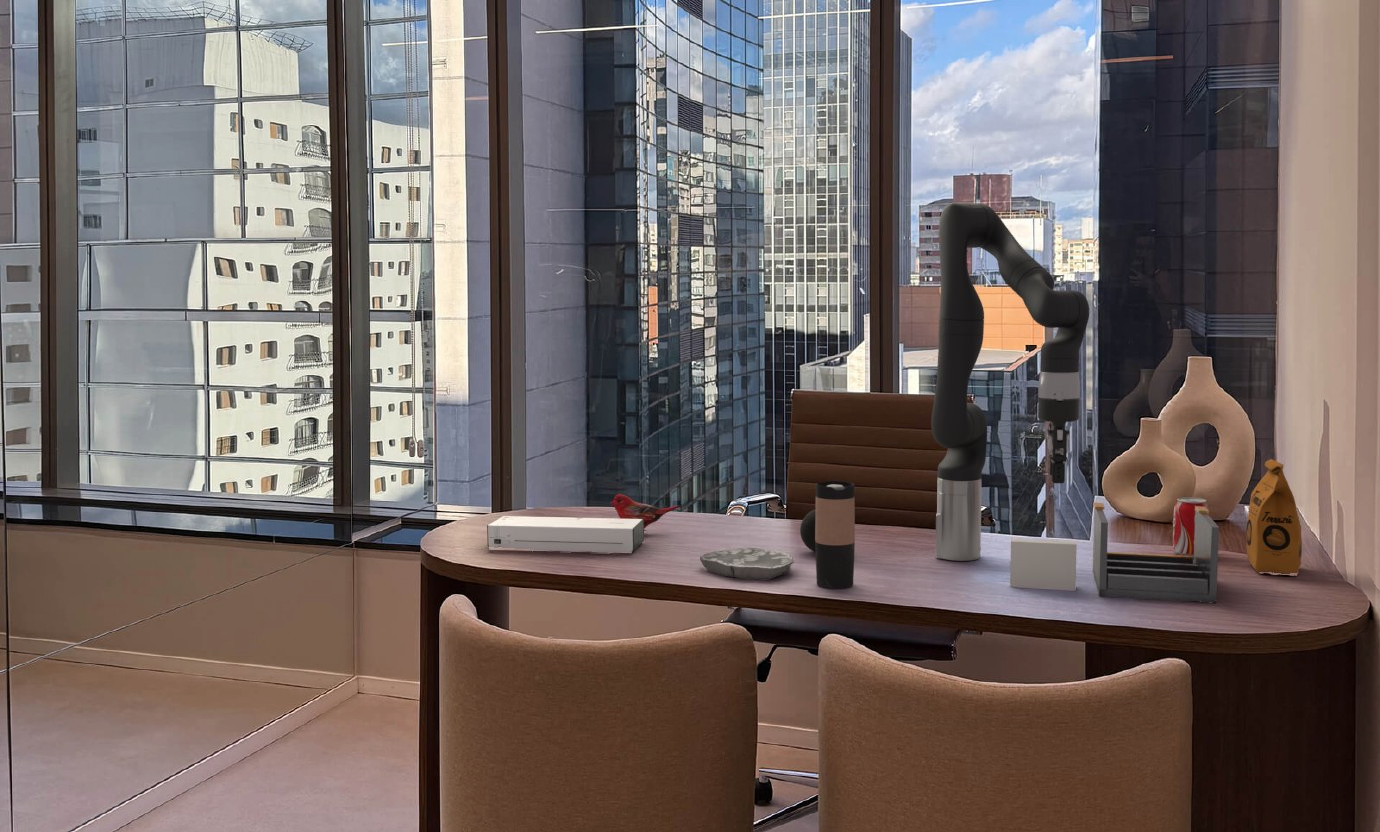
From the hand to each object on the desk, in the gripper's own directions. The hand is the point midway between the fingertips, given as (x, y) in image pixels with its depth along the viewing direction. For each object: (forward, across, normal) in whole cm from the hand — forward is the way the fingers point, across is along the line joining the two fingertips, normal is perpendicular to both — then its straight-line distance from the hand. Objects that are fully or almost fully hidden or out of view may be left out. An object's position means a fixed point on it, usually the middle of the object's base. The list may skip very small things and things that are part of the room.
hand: (1056, 479), depth 215 cm
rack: (+21, -3, +18) cm, 27 cm away
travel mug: (+21, +9, -42) cm, 47 cm away
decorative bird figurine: (+21, -30, -93) cm, 100 cm away
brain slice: (+21, 0, -60) cm, 64 cm away
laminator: (+22, -12, -106) cm, 109 cm away
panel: (+21, +2, -2) cm, 21 cm away
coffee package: (+21, -22, +43) cm, 53 cm away
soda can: (+21, -33, +30) cm, 49 cm away
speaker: (+21, -18, -48) cm, 55 cm away
